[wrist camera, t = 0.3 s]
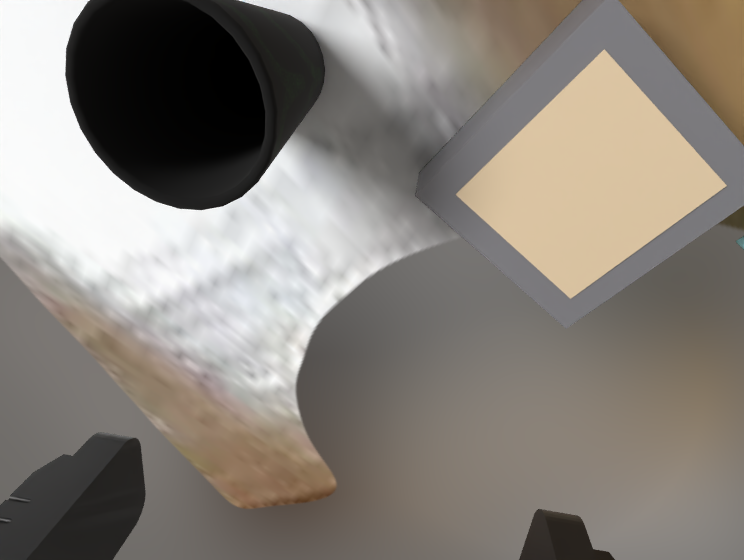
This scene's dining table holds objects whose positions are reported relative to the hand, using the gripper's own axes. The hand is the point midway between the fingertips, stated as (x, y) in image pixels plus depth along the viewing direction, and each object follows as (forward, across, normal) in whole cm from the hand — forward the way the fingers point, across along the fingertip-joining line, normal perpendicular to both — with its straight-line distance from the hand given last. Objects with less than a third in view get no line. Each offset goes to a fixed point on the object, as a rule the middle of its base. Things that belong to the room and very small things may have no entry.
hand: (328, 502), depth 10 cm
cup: (+22, +8, -8) cm, 25 cm away
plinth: (+22, -9, -4) cm, 24 cm away
